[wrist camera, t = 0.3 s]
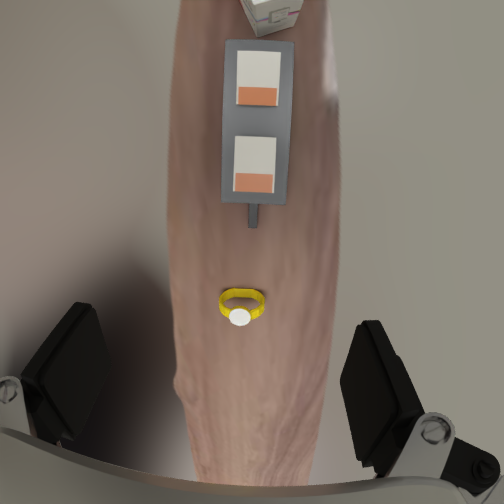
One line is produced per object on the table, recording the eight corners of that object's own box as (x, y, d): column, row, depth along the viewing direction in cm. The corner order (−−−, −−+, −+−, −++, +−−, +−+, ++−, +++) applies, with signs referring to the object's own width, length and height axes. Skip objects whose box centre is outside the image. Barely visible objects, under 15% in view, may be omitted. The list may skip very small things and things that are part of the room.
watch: (223, 298, 43) (215, 323, 38) (222, 281, 42) (214, 306, 37) (265, 301, 43) (262, 328, 37) (266, 285, 42) (263, 310, 36)
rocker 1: (238, 50, 24) (237, 50, 23) (280, 52, 24) (280, 52, 23) (237, 102, 28) (236, 104, 27) (277, 103, 28) (278, 106, 27)
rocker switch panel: (229, 47, 29) (224, 37, 24) (290, 50, 29) (295, 40, 24) (224, 224, 38) (220, 238, 34) (280, 226, 38) (283, 241, 34)
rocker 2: (236, 137, 29) (235, 135, 28) (275, 139, 29) (276, 137, 28) (234, 190, 31) (232, 191, 29) (273, 192, 31) (274, 193, 29)
